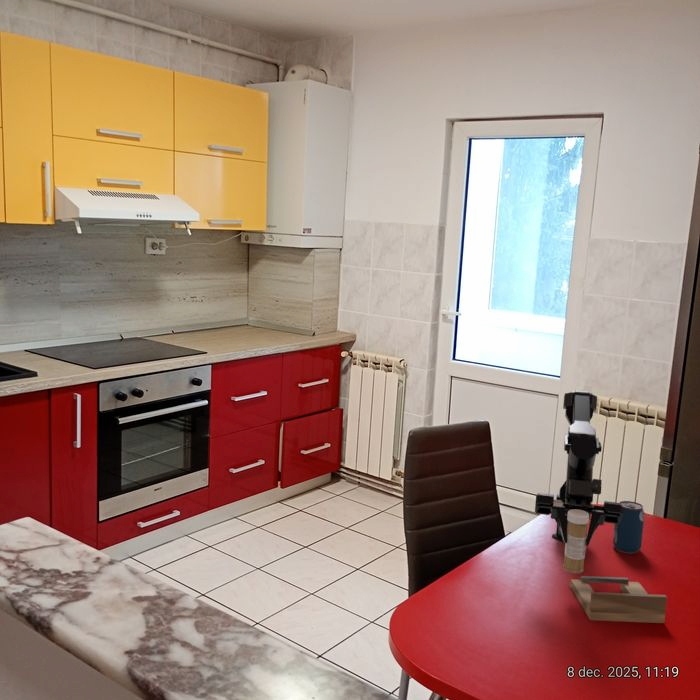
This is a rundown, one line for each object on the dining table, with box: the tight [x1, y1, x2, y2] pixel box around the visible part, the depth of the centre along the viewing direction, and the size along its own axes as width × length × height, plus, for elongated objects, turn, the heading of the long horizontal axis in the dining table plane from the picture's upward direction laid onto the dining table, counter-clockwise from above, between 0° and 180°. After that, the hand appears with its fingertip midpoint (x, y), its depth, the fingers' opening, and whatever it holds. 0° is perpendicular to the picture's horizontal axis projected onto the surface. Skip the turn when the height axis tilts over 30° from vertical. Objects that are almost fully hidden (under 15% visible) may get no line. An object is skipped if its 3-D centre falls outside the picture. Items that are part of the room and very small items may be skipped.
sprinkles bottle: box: [562, 509, 590, 574], centre depth 167 cm, size 5×5×13 cm
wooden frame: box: [569, 575, 668, 624], centre depth 165 cm, size 15×16×6 cm
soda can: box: [612, 500, 646, 555], centre depth 195 cm, size 7×7×12 cm
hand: (576, 544), depth 166 cm, fingers closed on sprinkles bottle, 4 cm apart
